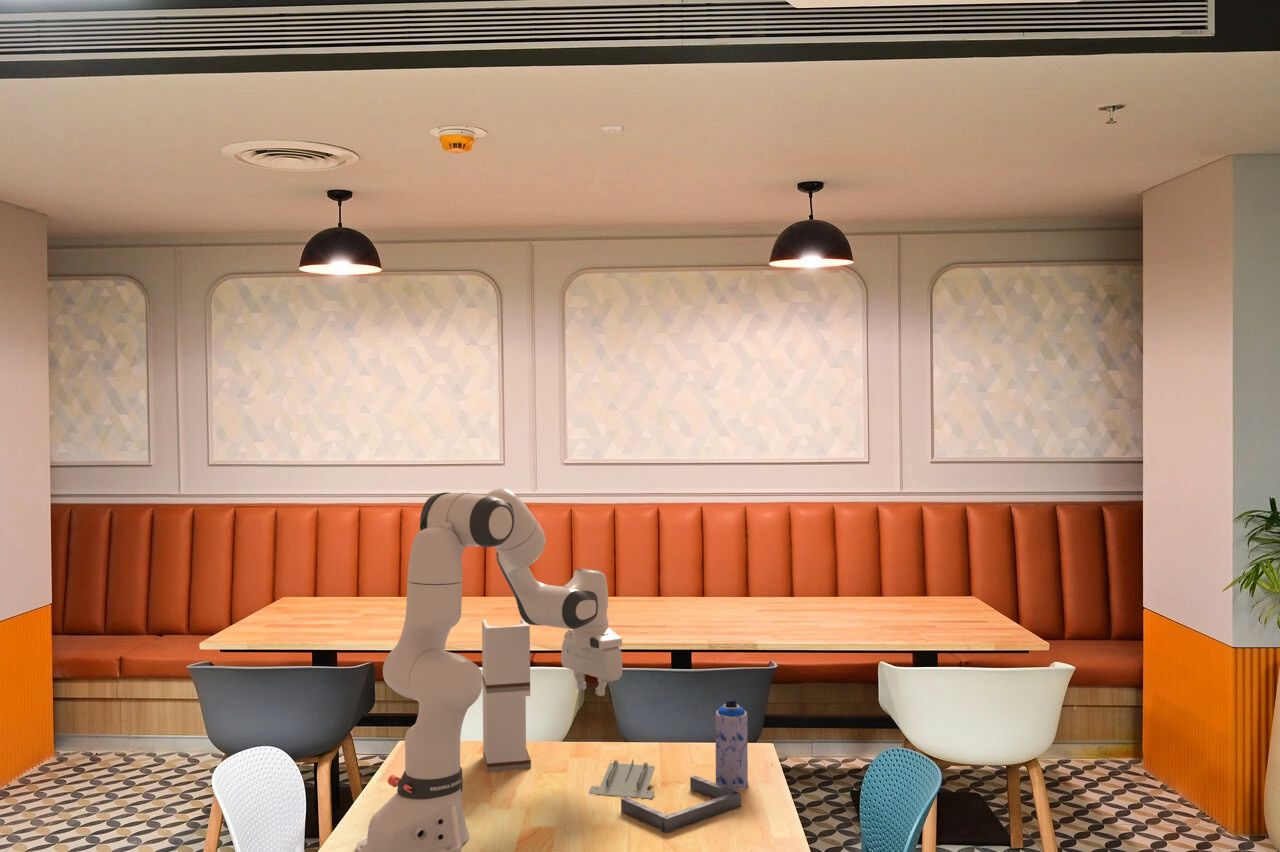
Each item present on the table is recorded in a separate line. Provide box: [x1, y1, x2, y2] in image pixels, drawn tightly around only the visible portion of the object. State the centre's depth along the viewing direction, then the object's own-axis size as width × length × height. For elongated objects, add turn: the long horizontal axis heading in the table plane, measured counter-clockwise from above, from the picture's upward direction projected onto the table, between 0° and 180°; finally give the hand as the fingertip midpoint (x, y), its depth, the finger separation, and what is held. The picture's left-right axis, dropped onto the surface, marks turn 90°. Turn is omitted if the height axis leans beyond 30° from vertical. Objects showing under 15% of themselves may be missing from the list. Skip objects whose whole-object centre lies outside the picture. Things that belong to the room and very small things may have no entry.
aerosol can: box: [714, 698, 750, 791], centre depth 244 cm, size 8×8×20 cm
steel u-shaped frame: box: [620, 775, 743, 834], centre depth 229 cm, size 22×15×3 cm
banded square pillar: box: [481, 617, 532, 773], centre depth 261 cm, size 11×11×35 cm
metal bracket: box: [588, 759, 656, 801], centre depth 243 cm, size 14×6×15 cm
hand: (590, 692), depth 254 cm, fingers open, 6 cm apart
